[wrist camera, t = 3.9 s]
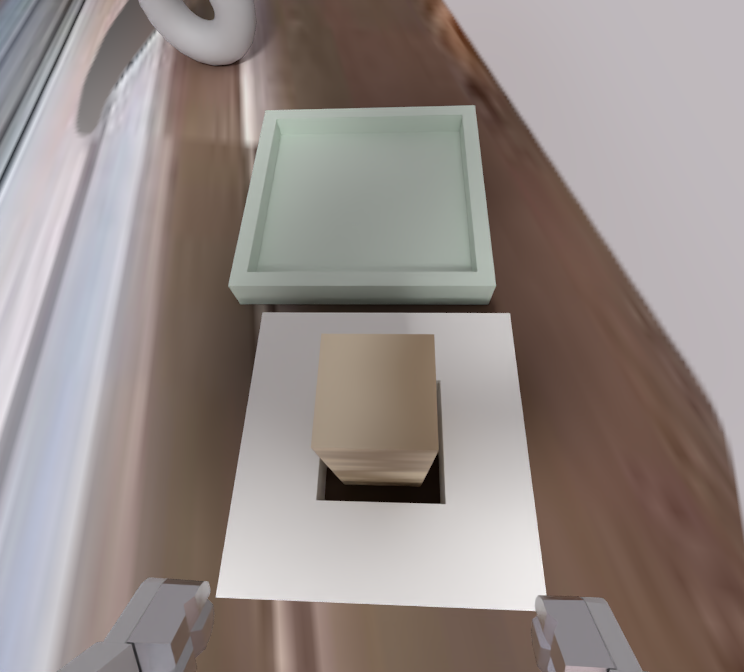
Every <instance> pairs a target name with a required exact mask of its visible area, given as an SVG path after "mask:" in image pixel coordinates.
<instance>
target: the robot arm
mask: <svg viewBox="0 0 744 672" xmlns="http://www.w3.org/2000/svg"><path fill="white" fill-rule="evenodd" d="M210 592H211V591H210V587H209V582H206V581H194V580H181V579H167V578H147V579H146V580H145V581H144V582H143V583H142V584H141V585H140V587H139V588H138V590H137V591H136V593H135V594H134V596H133V597H132V599H131V600H130V602H129V603H128V605H127V606H126V608H125V609H124V611H123V613H122V614H121V616H120V617H119V619H118V620H117V622H116V623H115V625H114V626H113V628H112V629H111V631H110V632H109V634H108V635H107V637H106V638H105V640H104V641H103V642H96V643H95V644H94V645H92V646H91V647H89V648H88V649H87V650H85V651H84V652H83V653H81V654H80V655H79V656H77V657H76V658H75V659H73V660H72V661H70V662H69V663H68V664H66V665H65V666H64V667H62V668H61V669H60V670H58V671H57V672H196V670H197V664H196V659H195V658H196V657H197V656H198V655H199V654H200V653H201V652H202V651H204V650H205V649H206V647H207V644H208V642H209V639H210V637H211V633H212V629H213V624H214V607H213V604H212V603H211V602H210V601H209V600H208V599H207V598H208V596H209V594H210ZM534 607H535V610H536V613H537V616H536V617H535V618H534V619H533V620H532V627H531V637H532V646H533V651H534V656H535V659H536V663H537V667H538V668H539V669H540V670H541V671H542V672H646V671H642V669H641V667H640V665H639V663H638V661H637V659H636V657H635V655H634V653H633V651H632V649H631V648H630V646H629V644H628V642H627V640H626V638H625V636H624V634H623V632H622V630H621V628H620V626H619V624H618V622H617V620H616V618H615V617H614V615H613V613H612V611H611V609H610V607H609V605H608V603H607V602H606V601H605V600H604V599H603V598H594V597H579V596H549V595H538V596H537V597H536V600H535V606H534Z"/></svg>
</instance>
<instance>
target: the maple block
mask: <svg viewBox="0 0 744 672" xmlns="http://www.w3.org/2000/svg"><path fill="white" fill-rule="evenodd" d="M311 448H312V450H313V451H314V452H315V453H316V454H317V455H318V456H319V457H320V458H321V459H322V460H323V462H324V463H325V464H326V465H327V466H328V467H329V468H330V469H331V470H332V471H333V473H334V474H335V475H336V476H337V477H338V478H339V479H340V480H341V481H342V482H343V484H344V485H377V486H414V487H420V486H421V484H422V482H423V481H424V479H425V477H426V475H427V473H428V471H429V469H430V467H431V465H432V463H433V461H434V459H435V457H436V455H437V453H438V451H439V442H438V416H437V390H436V365H435V339H434V334H321V342H320V353H319V364H318V375H317V386H316V396H315V407H314V418H313V429H312V440H311Z"/></svg>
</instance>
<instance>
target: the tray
mask: <svg viewBox="0 0 744 672" xmlns="http://www.w3.org/2000/svg"><path fill="white" fill-rule="evenodd" d="M228 286H229V288H230V289H231V291H232V292H233V294H234V295H235V297H236V298H237V300H238V301H239V303H240V304H417V305H488V304H489V302H490V299H491V297H492V294H493V292H494V289H495V287H496V281H495V273H494V264H493V256H492V247H491V239H490V230H489V221H488V213H487V204H486V196H485V187H484V179H483V170H482V162H481V153H480V144H479V136H478V127H477V119H476V110H475V105H469V106H428V107H387V108H346V109H306V110H265V115H264V120H263V125H262V129H261V134H260V139H259V143H258V148H257V153H256V157H255V162H254V167H253V172H252V176H251V181H250V186H249V190H248V195H247V200H246V205H245V209H244V214H243V219H242V223H241V228H240V233H239V238H238V242H237V247H236V252H235V256H234V261H233V266H232V270H231V275H230V280H229V285H228Z"/></svg>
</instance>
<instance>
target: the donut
mask: <svg viewBox="0 0 744 672" xmlns="http://www.w3.org/2000/svg"><path fill="white" fill-rule="evenodd" d="M138 1H139V4H140V5H141V7H142V9H143V10H144V12H145V14H146V15H147V17H148V19H149V20H150V22H151V24H152V25H153V26H154V27H155V28H156V29H157V31H158V32H159V33H160V34H161V35H162V36H163V37H164V39H165V40H166V41H167V42H169V43H170V44H171V45H172V46H174V47H175V48H176V49H177V50H179V51H180V52H181V53H183V54H184V55H186V56H188V57H190V58H192V59H194V60H196V61H198V62H201V63H205V64H209V65H213V66H216V65H227V64H232V63H233V62H235V61H237V60H239V59H240V58H242V57H243V56H244V55H245V54H246V52H247V51H248V49H249V48H250V46H251V45H252V43H253V40H254V34H255V28H256V22H257V21H256V14H255V7H254V1H253V0H209V1H210V3H211V5H212V7H213V9H214V13H215V18H214V19H213V20H210V21H209V20H205V19H202V18H200V17H199V16H197V15H195V14H194V13H193V12H192V11H191V10H190V9H189V8H188V7H187V6H186V5H185V3H184V2H183V0H138Z"/></svg>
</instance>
